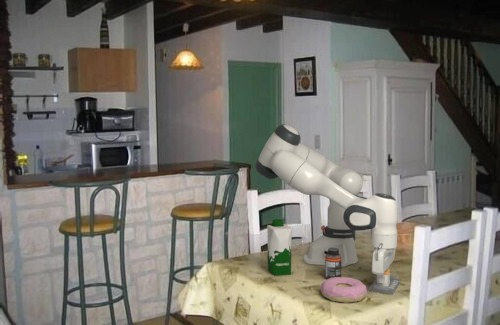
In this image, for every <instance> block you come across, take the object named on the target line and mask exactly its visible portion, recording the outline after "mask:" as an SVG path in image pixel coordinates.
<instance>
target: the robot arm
mask: <svg viewBox="0 0 500 325" xmlns="http://www.w3.org/2000/svg"><path fill="white" fill-rule="evenodd" d="M254 167H255V170H256V172H257V173H258V174H259V175H261V176H262V177H264V178H266V179H268V180H275V179H277V178H278V179H280V180H281V181H282V182H284V183H285V184H287V186H290V187H291V188H292V189H294V190H295V191H297V192H299V193H301V194H303V195H306V196H310V195H311V196H320V197H321V196H322V197H325V198H326V199H328V200H330V203H329V205H328V206H327V225H321V227H320V230H321V231H322V233H321V234H322V235H321V236H319V237H318V238H316V239H315V240H314V241H312V242H311V244H310V246H309V249H308V252H307V253H305V254H304V255H303V262H304V263H306V264H308V265H317V266H325V255H326V254H327V253H328V248H338V249H339V254H340V255H341V268H342V267H343V268H344V267H347V266H350V265H354V264H356V263H358V262H359V258H358V255H357V250H356V236H357V231H360V232H361V231H369V230H370V245H371V247H373V248H374V250H373V252H372V260H371V272H372V274H374V275H377V274H378V277H379V283H384V281H385V277H384V273H385V271H386V270H390V266H391V265H392V263H393V262H394V260H395V256H396V251H397V250H396V248H397V247H398V241H399V236H398V235H399V234H398V229H397V225H398V221H399V208H398V207H399V206H398V202H397V200H396V199H395V197H394V196H392V195H391V194H387V193H379V192H378V193H374V194H373V195H372V196H371V195H370V197H365V196H359V193H360V192H361V191H362V188H363V185H364V182H363V178H362V177H361V175H360V174H359V173H358V172H357V171H355V170H354V169H351V168H348V167H344V166H341V165H340V164H337V163H336V162H334V161H332V160H331V159H329V158H328V157H326V156H325V155H324V154H323V153H320V152H318V151H316V150H315V149H312V148H310V147H308V146H307V145H305V144H303V143H301V134H300V132H298V130H296V128H294V127H293V126H291V125H288V124H284V123H283V124H279V125H278V126H277V127H276V128H275V129H274V132H273V133H272V134H271V135H270V136H269V138H268V140H266V142H265V144H264V147H263V148H262V150H261V152H260V154H259V157H257V159H256V161H255V165H254Z"/></svg>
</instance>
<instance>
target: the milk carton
mask: <svg viewBox="0 0 500 325" xmlns="http://www.w3.org/2000/svg"><path fill="white" fill-rule="evenodd" d="M266 230H267V231H266V232H267V233H266V234H267V270H268V272H269V273H270V274H271V275H272V276H273V275H274V277H277V276H278V277H279V276H287V275H292V237H293V236H292V233H293V228H292V227H291V226H289V225H288V224H285V223H284V220H283V219H278V218H277V219H273V220H272V224H269V225H268V224H267V226H266Z"/></svg>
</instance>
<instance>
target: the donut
mask: <svg viewBox="0 0 500 325" xmlns="http://www.w3.org/2000/svg"><path fill="white" fill-rule="evenodd" d="M320 292H321V294H322V296H323V297H324V298H327V299H329V301H331V302H335V301H336V303H343V302H344V303H346V304H348V303H349V302H350V303H356V302H357V301H358V302H360V301H362V300H363V299H365V297H367V294H368V291H367V286H366V285H365V284H364V283H363V282H362V281H361V280H359V279H356V278H352V277H347V276H346V277H345V276H341V277H334V278H330V279H324V280H323V282H322V283H321V285H320ZM358 302H357V303H358Z"/></svg>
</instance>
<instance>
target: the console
mask: <svg viewBox="0 0 500 325" xmlns="http://www.w3.org/2000/svg"><path fill="white" fill-rule="evenodd" d="M400 283H401V279H400V278H397V275H391V274H390V284H389V286H381V285H377V277H376V278H375V280H374V281H373V282H372V283H371V285H370V286H369V287H368V292H372V291H373V293H374V292H375V293H378V292H379V294H386V295H394V293H395V291H396V290H397V288H398V287H399V285H400Z"/></svg>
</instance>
